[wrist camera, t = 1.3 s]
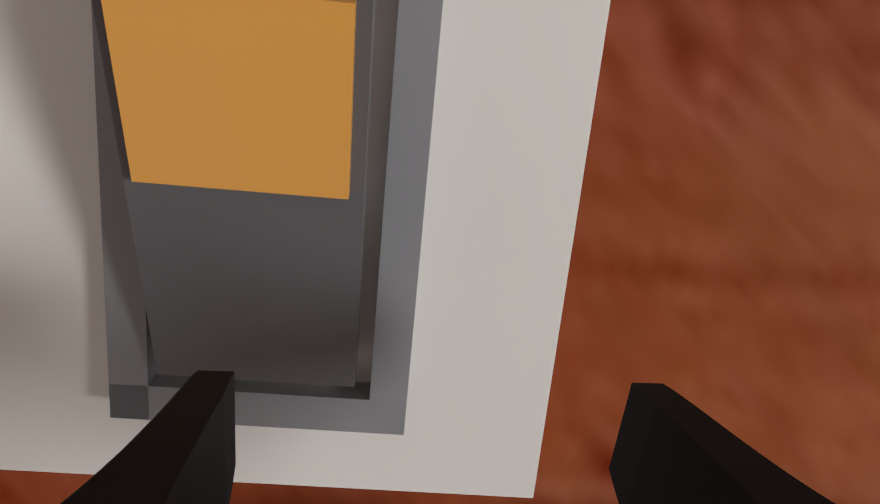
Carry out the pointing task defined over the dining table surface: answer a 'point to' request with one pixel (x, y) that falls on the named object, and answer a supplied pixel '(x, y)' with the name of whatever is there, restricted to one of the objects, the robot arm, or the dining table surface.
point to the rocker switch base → (384, 256)
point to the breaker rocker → (245, 178)
